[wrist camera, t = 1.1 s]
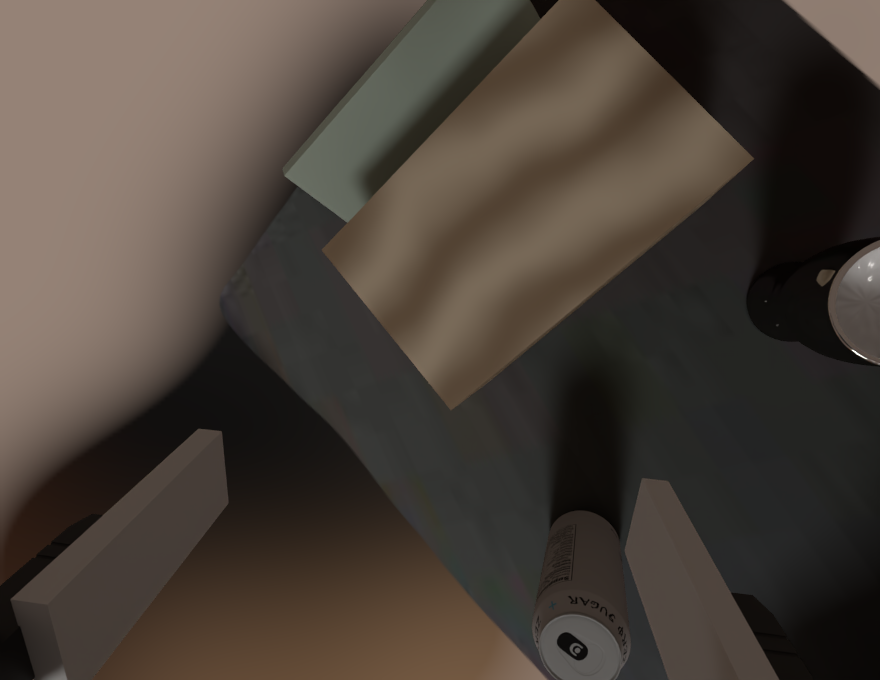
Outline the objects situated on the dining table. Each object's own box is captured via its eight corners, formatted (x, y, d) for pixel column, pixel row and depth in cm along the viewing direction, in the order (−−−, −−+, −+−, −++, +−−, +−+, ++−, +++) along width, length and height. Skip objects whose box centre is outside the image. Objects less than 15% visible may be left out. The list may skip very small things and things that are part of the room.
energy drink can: (594, 585, 44) (594, 721, 30) (536, 542, 45) (510, 653, 31) (634, 535, 43) (654, 652, 29) (573, 492, 44) (564, 583, 30)
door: (572, 76, 40) (493, -66, 32) (391, 255, 46) (284, 175, 37) (558, 68, 41) (480, -70, 33) (385, 242, 47) (280, 163, 39)
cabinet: (699, 207, 40) (754, 158, 26) (492, 378, 45) (451, 410, 32) (581, 84, 41) (576, -19, 28) (398, 264, 47) (321, 250, 34)
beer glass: (795, 237, 38) (918, 197, 23) (868, 302, 37) (1043, 303, 22) (719, 301, 40) (790, 300, 25) (786, 365, 39) (900, 403, 24)
